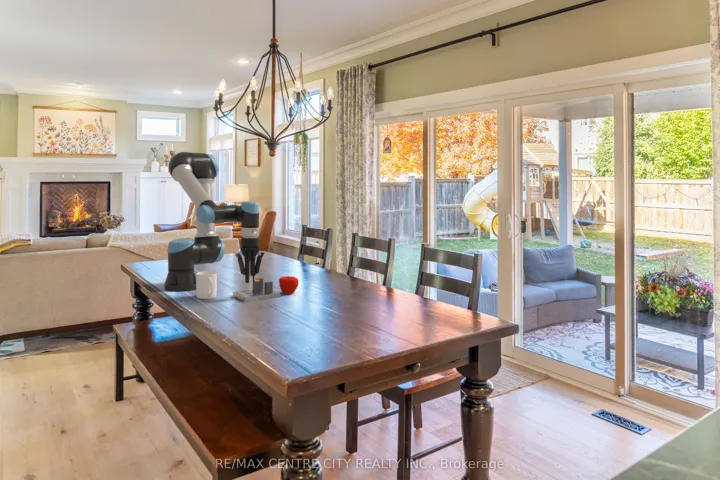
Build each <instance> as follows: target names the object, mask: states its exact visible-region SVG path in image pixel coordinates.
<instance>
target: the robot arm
mask: <svg viewBox="0 0 720 480" xmlns="http://www.w3.org/2000/svg"><path fill="white" fill-rule="evenodd" d="M219 171H220V167H219V163H218V161H217V159H216V157H215V156H214V155H212V154H209V153H205V152H188V151H180V152H177V153H175V154H174V155H173V156H172V157H171V158H170V160H169V163H168V172H169V174H170V176H171V178H172V179H173V180H174V181H176V182H177V183H178V184H179V185H180V186H181V188H182V190H184V192H185V193H186V195H187V196H188V197H189V199H190V200H191V202H192V203H193V205H194V207H195V208H194V209H195V220H196V221H195V222H196V234H195V236H194V238H193V237H185V238H183V237H182V238H176V239H173V240H171V241H169V242H168V245H167V274H166V278H165V280H164V285H163V287H164V290H165V291H169V292H187V291H193V290H196V273H195V272H196V271H195V266H196V265H197V266H198V265H206V264H209V265H210V264H215V263H219V262H221V261H222V260H223V258H224V255H225V251H226V245H225V243H224V241H223V240H222V239H221V238H220V235H219V234H218V233H217V232H216V224H217V223H240V225H241V226H240V227H241V229H240V236H241V238H240V239H241V240H240V242H241V244H240V246H241V247H240V251H239V252H238V253H235V257H236V258H237V262H238V265H239V266H238V267H239V271H240V275H243V276H245V277H244V281H245V284H246V290H249V291H252V290H253V283H254V280H255V276H256V275H257V274H260V268H261V264H262V260H263V257H264V255H265V252H263V251H261V250H260V247H259V245H260V243H259V242H260V239H259V236H260V204H259V203H258V202H257V201H241V205H237V204H229V205H227V204H226V205H217V204H216V203H215V201H214V195H213V194H214V193H213V183H214V181H215V178H216V177H217V176H218V175H219ZM243 257H244V258H243Z"/></svg>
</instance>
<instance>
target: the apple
mask: <svg viewBox="0 0 720 480" xmlns="http://www.w3.org/2000/svg"><path fill="white" fill-rule="evenodd" d="M278 279H279V280H278V284H279V287H280V288H279V289H280V291H281V293H282V294H283V295H293V294H294V293H295V292H296V291H297V288H298V286H299V279H298V277H296V276H288V275H285V276H281V277H280V278H278Z"/></svg>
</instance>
